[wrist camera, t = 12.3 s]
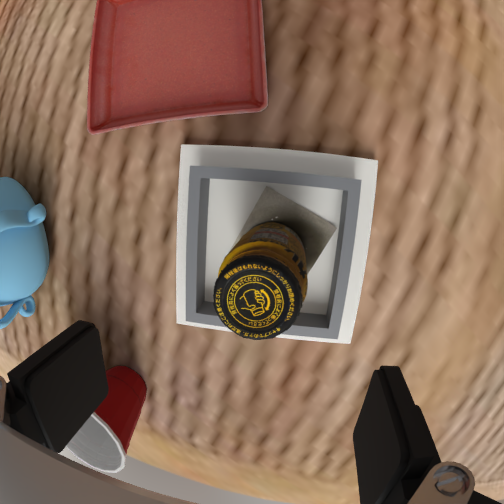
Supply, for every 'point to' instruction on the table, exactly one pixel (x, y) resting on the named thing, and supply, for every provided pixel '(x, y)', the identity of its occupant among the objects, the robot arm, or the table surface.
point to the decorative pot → (20, 249)
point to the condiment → (269, 267)
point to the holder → (243, 202)
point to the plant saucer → (174, 61)
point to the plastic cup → (111, 422)
